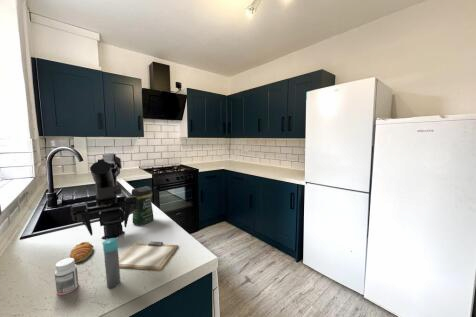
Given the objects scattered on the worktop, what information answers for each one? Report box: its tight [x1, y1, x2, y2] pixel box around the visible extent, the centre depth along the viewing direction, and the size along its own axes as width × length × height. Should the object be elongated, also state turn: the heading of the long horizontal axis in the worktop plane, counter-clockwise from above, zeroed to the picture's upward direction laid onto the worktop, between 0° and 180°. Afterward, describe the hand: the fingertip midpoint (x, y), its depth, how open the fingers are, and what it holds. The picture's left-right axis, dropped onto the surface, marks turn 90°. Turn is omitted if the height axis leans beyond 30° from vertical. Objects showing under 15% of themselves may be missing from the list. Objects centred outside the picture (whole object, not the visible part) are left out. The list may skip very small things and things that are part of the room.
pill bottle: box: [54, 257, 79, 296], centre depth 55 cm, size 5×5×8 cm
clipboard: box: [119, 240, 179, 272], centre depth 71 cm, size 18×14×2 cm
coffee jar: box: [130, 185, 155, 226], centre depth 100 cm, size 10×8×19 cm
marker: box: [102, 238, 121, 289], centre depth 57 cm, size 4×4×14 cm
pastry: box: [69, 241, 94, 264], centre depth 71 cm, size 9×7×4 cm
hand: (109, 230), depth 63 cm, fingers open, 9 cm apart
